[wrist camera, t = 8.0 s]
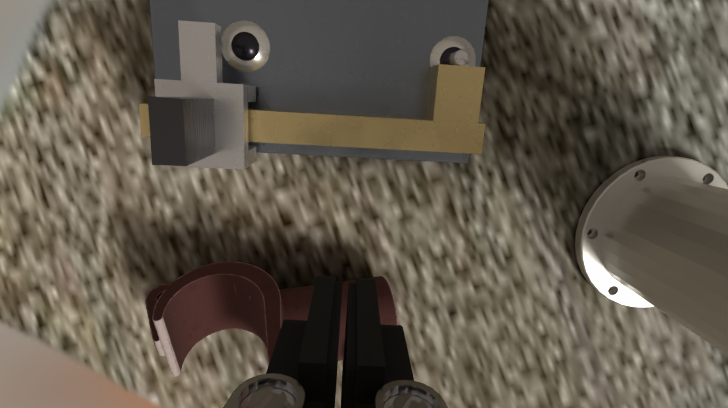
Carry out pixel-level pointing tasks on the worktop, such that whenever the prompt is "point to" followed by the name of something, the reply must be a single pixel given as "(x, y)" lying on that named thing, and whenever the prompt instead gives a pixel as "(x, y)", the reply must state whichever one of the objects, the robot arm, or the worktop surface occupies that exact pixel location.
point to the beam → (385, 118)
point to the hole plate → (330, 56)
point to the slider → (200, 108)
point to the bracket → (236, 308)
